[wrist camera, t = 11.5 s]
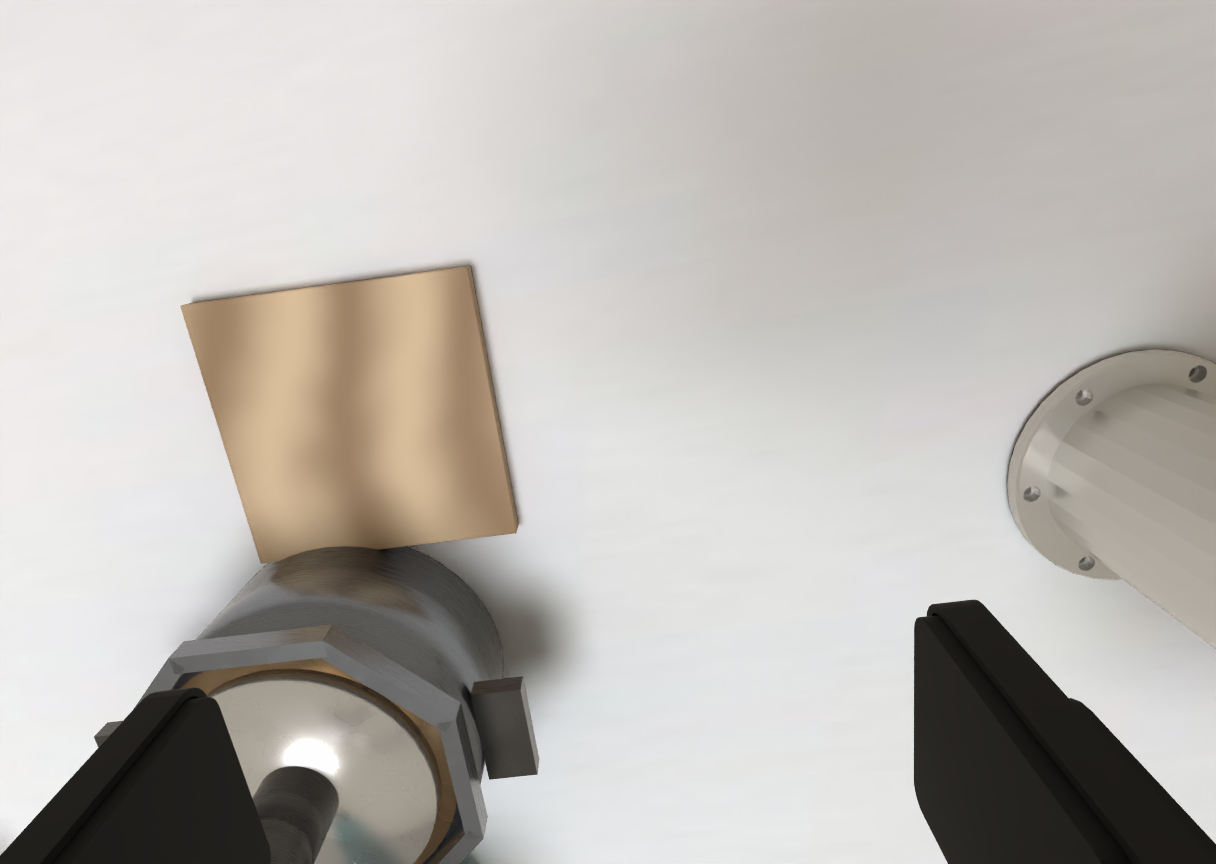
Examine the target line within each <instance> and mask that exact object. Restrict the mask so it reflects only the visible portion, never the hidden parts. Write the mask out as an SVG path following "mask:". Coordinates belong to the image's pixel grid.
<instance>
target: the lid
mask: <svg viewBox="0 0 1216 864" xmlns="http://www.w3.org/2000/svg"><path fill="white" fill-rule="evenodd" d="M206 695H207V697H211V698H214V699H215V700H216V701H217V703H218V704H219V706H220V709H221V712H222V715H223V718H224V720H225V723H226V726H227V729H228V732H229V734H230V737H231V740H232V743H233V746H234V748H235V751H236V754H237V757H238V759H239V762H240V765H241V768H242V771H243V773H244V776H245V779H246V782H247V785H248V787H249V790H250V793H251V796H252V799H253V801H254V804H255V807H256V810H257V813H258V815H259V818H260V821H261V824H262V827H263V829H264V832H265V835H266V838H267V841H268V843H269V846H270V851H271V863H270V864H413V863H414V862H415V861H416V860H417V858H418V857H419V856H420V855H421V853H422V852H423V850H424V848H425V847H426V845H427V843H428V841H429V839H430V836H431V834H432V831H433V828H434V824H435V821H436V817H437V814H438V809H439V804H440V800H441V780H440V772H439V768H438V765H437V761H436V758H435V755H434V753H433V751H432V749H431V747H430V744H429V743H428V741H427V739H426V738H425V736H424V735H423V733H422V732H421V730H420V729H419V728H418V727H417V725H416V724H415V723H414V722H413V721H412V720H411V718H410V717H409V716H408V715H407V714H405V713H404V712H403V711H402V710H401V709H400V708H399V707H398V706H397V705H395V704H394V703H392V702H391V701H390V700H388V699H387V698H386V697H384V696H383V695H381V694H379V693H377V692H376V691H374V690H372V689H370V688H369V687H367V686H365V685H362V684H360V683H358V682H355V681H353V680H350V679H348V678H344V677H341V676H338V675H335V674H331V673H326V672H321V671H316V670H307V669H295V668H291V669H272V670H265V671H258V672H254V673H250V674H247V675H243V676H240V677H237V678H235V679H232V680H230V681H228V682H225V683H223V684H222V685H220V686H218V687H217V688H215V689H213V690H211V691H210V692H209V693H208V694H206Z"/></svg>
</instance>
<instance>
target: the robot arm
mask: <svg viewBox="0 0 1216 864" xmlns="http://www.w3.org/2000/svg"><path fill="white" fill-rule="evenodd" d="M1007 487H1008V497H1009V506H1010V508H1011V511H1012V514H1013V517H1014V520H1015V523H1016V525H1017V526H1018V528H1019V530H1020V531H1021V533H1022V534H1023V536H1024V537H1025V539H1026V540H1027V541H1028V542H1029V543H1030V544H1031V545H1032V546H1033V547H1034V548H1035V549H1036V550H1037V551H1038V552H1039V553H1041V554H1042V555H1043V556H1044V557H1046V558H1047V559H1048V560H1050V561H1051V562H1052V563H1054V564H1055V565H1057V566H1059V567H1061V568H1063V569H1065V570H1067V571H1069V572H1071V573H1073V574H1077V575H1081V576H1085V577H1089V578H1093V579H1109V580H1119V579H1124V580H1125V581H1126V582H1128V583H1129V584H1130V585H1132V586H1133V587H1134V588H1136V589H1137V590H1138V591H1140V592H1141V593H1142V594H1144V595H1145V596H1146V597H1148V598H1149V599H1150V600H1152V601H1153V602H1154V603H1156V604H1157V605H1158V606H1159V607H1161V608H1162V609H1163V610H1165V611H1166V612H1167V613H1169V614H1170V615H1171V616H1173V617H1174V618H1175V619H1177V620H1178V621H1179V622H1181V623H1182V624H1183V625H1185V626H1186V627H1187V628H1189V629H1190V630H1191V631H1193V632H1194V633H1195V634H1197V635H1198V636H1199V637H1201V638H1202V639H1203V640H1205V641H1206V642H1207V643H1209V644H1210V645H1211V646H1213V647H1214V648H1215V649H1216V363H1214V362H1211V361H1209V360H1206V359H1204V358H1201V357H1198V356H1194V355H1191V354H1187V353H1183V352H1179V351H1170V350H1156V349H1152V350H1143V351H1134V352H1128V353H1124V354H1121V355H1117V356H1114V357H1111V358H1107V359H1104V360H1102V361H1100V362H1098V363H1096V364H1094V365H1092V366H1090V367H1088V368H1086V369H1083V370H1081V371H1080V372H1078V373H1077V374H1076V375H1074V376H1073V377H1071V378H1070V379H1068V380H1067V381H1065V382H1064V383H1063V384H1061V385H1060V386H1059V387H1058V388H1057V389H1056V390H1055V391H1054V392H1052V393H1051V394H1050V395H1049V396H1048V397H1047V398H1046V399H1045V400H1044V401H1043V402H1042V403H1041V404H1040V406H1039V407H1038V408H1037V410H1036V411H1035V412H1034V414H1033V415H1032V416H1031V418H1030V419H1029V420H1028V422H1027V423H1026V425H1025V427H1024V429H1023V431H1022V433H1021V435H1020V437H1019V439H1018V440H1017V442H1016V445H1015V448H1014V452H1013V455H1012V458H1011V461H1010V465H1009V474H1008V483H1007ZM914 786H915V792H916V796H917V800H918V803H919V806H920V809H921V811H922V813H923V815H924V817H925V819H926V821H927V823H928V825H929V827H930V829H931V831H932V833H933V835H934V837H935V839H936V841H937V843H938V845H939V847H940V849H941V851H942V853H943V855H944V857H945V859H946V861H947V862H948V864H1216V844H1215V843H1214V842H1213V841H1212V840H1211V839H1210V838H1209V836H1208V835H1207V834H1206V833H1205V832H1204V831H1203V830H1202V829H1201V828H1200V827H1199V826H1198V825H1197V824H1196V823H1195V821H1194V820H1193V819H1192V818H1191V817H1190V816H1189V815H1188V814H1187V813H1186V812H1185V811H1184V810H1183V809H1182V808H1181V806H1180V805H1179V804H1178V803H1177V802H1176V801H1175V800H1174V799H1173V798H1172V797H1171V796H1170V795H1169V794H1168V793H1167V791H1166V790H1165V789H1164V788H1163V787H1162V786H1161V785H1160V784H1159V783H1158V782H1157V781H1156V780H1155V779H1154V777H1153V776H1152V775H1151V774H1150V773H1149V772H1148V771H1147V770H1146V769H1145V768H1144V767H1143V766H1142V765H1141V764H1140V762H1139V761H1138V760H1137V759H1136V758H1135V757H1134V756H1133V755H1132V754H1131V753H1130V752H1129V751H1128V750H1127V749H1126V747H1125V746H1124V745H1123V744H1122V743H1121V742H1120V741H1119V740H1118V739H1117V738H1116V737H1115V736H1114V735H1113V734H1112V732H1111V731H1110V730H1109V729H1108V728H1107V727H1106V726H1105V725H1104V724H1103V723H1102V722H1101V721H1100V720H1099V719H1098V717H1097V716H1096V715H1095V714H1094V713H1093V712H1092V711H1091V710H1090V709H1089V708H1087V707H1086V706H1085V705H1084V704H1083V703H1082V702H1080V701H1077V700H1074V699H1072V698H1068V697H1067V696H1066V695H1065V694H1064V693H1063V692H1062V690H1061V689H1060V688H1059V687H1058V686H1057V685H1056V684H1055V683H1054V682H1053V681H1052V680H1051V678H1050V677H1049V676H1048V675H1047V674H1046V673H1045V672H1044V671H1043V670H1042V669H1041V667H1040V666H1039V665H1038V664H1037V663H1036V662H1035V661H1034V660H1033V659H1032V658H1031V656H1030V655H1029V654H1028V653H1027V652H1026V651H1025V650H1024V649H1023V648H1022V647H1021V645H1020V644H1019V643H1018V642H1017V641H1016V640H1015V639H1014V638H1013V637H1012V636H1011V634H1010V633H1009V632H1008V631H1007V630H1006V629H1005V628H1004V627H1003V626H1002V625H1001V624H1000V622H999V621H998V620H997V619H996V618H995V617H994V616H993V615H992V614H991V613H990V611H989V610H988V609H987V608H986V607H985V606H984V605H983V604H982V603H981V602H979V601H978V600H966V601H958V602H949V603H940V604H932V605H931V606H929V608H928V611H927V617H918V618H917V619H916V621H915V627H914ZM270 863H271V851H270V846H269V843H268V841H267V838H266V835H265V832H264V829H263V827H262V824H261V821H260V818H259V815H258V813H257V810H256V807H255V804H254V801H253V799H252V796H251V793H250V790H249V787H248V785H247V782H246V779H245V776H244V773H243V771H242V768H241V765H240V762H239V759H238V757H237V754H236V751H235V748H234V746H233V743H232V740H231V737H230V734H229V732H228V729H227V726H226V723H225V720H224V718H223V715H222V712H221V709H220V706H219V704H218V703H217V701H216V700H215V699H214V698H211V697H207V695H206V694H205V692H203V691H202V690H201V689H199V688H195V687H194V688H185V689H176V690H167V691H158V692H154V693H151V694H149V695H148V696H146V697H145V698H144V699H143V700H142V701H141V702H140V703H139V704H138V705H137V706H136V708H135V709H134V710H133V711H132V712H131V713H130V714H129V715H128V716H127V717H126V718H125V720H124V721H123V722H122V723H121V724H120V725H119V726H118V727H117V728H116V729H115V731H114V732H113V733H112V734H111V735H110V736H109V737H108V738H107V739H106V740H105V742H104V743H103V744H102V745H101V746H100V747H99V748H98V749H97V750H96V751H95V752H94V754H93V755H92V756H91V757H90V758H89V759H88V760H87V761H86V762H85V763H84V765H83V766H82V767H81V768H80V769H79V770H78V771H77V772H76V773H75V774H74V776H73V777H72V778H71V779H70V780H69V781H68V782H67V783H66V784H65V785H64V786H63V788H62V789H61V790H60V791H59V792H58V793H57V794H56V795H55V796H54V797H53V799H52V800H51V801H50V802H49V803H48V804H47V805H46V806H45V807H44V808H43V810H42V811H41V812H40V813H39V814H38V815H37V816H36V817H35V818H34V819H33V820H32V822H31V823H30V824H29V825H28V826H27V827H26V828H25V829H24V830H23V831H22V833H21V834H20V835H19V836H18V837H17V838H16V839H15V840H14V841H13V842H12V844H11V845H10V846H9V847H8V848H7V849H6V850H5V851H4V852H3V853H2V854H1V856H0V864H270Z"/></svg>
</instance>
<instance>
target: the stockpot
mask: <svg viewBox="0 0 1216 864" xmlns="http://www.w3.org/2000/svg"><path fill="white" fill-rule="evenodd" d="M291 668H295V669H307V670H316V671H321V672H326V673H331V674H335V675H338V676H341V677H344V678H348V679H350V680H353V681H355V682H358V683H360V684H362V685H365V686H367V687H369V688H370V689H372V690H374V691H376V692H377V693H379V694H381V695H383V696H384V697H386V698H387V699H388V700H390V701H391V702H392V703H394V704H395V705H397V706H398V707H399V708H400V709H401V710H402V711H403V712H404V713H405V714H407V715H408V716H409V717H410V718H411V720H412V721H413V722H414V723H415V724H416V725H417V727H418V728H419V729H420V730H421V732H422V733H423V735H424V736H425V738H426V739H427V741H428V743H429V744H430V747H431V749H432V751H433V753H434V755H435V758H436V761H437V765H438V768H439V772H440V780H441V800H440V804H439V809H438V814H437V817H436V821H435V824H434V828H433V831H432V834H431V836H430V839H429V841H428V843H427V845H426V847H425V848H424V850H423V852H422V853H421V855H420V856H419V857H418V858H417V860H416V861H415V862H414V863H413V864H460V863H461V862H462V861H463V860H464V859H465V858H466V857H467V856H468V855H469V854H470V852H471V851H472V850H473V849H474V848H475V847H476V846H477V845H478V844H479V843H480V842H481V841H482V839H483V838H484V833H485V827H486V822H487V813H486V808H485V804H484V800H483V795H482V791H481V787H480V784H481V779H482V774H483V770H484V765H485V763H486V767H487V772H488V776H489V779H499V778H508V777H517V776H527V775H536V774H537V773H538V765H539V756H538V751H537V746H536V741H535V736H534V731H533V725H532V720H531V715H530V710H529V705H528V700H527V695H526V690H525V685H524V680H523V676H522V677H513V678H504V679H503V655H502V648H501V643H500V640H499V636H498V633H497V630H496V628H495V625H494V623H493V621H492V619H491V616H490V615H489V613H488V611H487V610H486V608H485V607H484V605H483V603H482V602H481V600H480V599H479V598H478V597H477V596H476V594H475V593H474V592H473V591H472V590H471V588H470V587H469V586H468V585H467V584H465V583H464V582H463V581H462V580H461V579H460V578H459V577H458V576H457V575H456V574H454V573H453V572H452V571H450V570H449V569H447V568H446V567H445V566H443V565H442V564H440V563H439V562H437V561H435V560H433V559H432V558H430V557H428V556H426V555H424V554H422V553H419V552H417V551H415V550H412V549H410V548H408V547H395V548H387V549H372V548H366V547H352V546H338V547H324V548H319V549H313V550H308V551H304V552H301V553H298V554H295V555H292V556H289V557H287V558H285V559H283V560H281V561H277V562H270V563H268V564H267V565H266V566H265V567H264V568H263V569H261V570H260V571H259V572H258V573H257V574H256V575H255V576H254V577H253V578H252V579H251V580H250V581H249V582H248V583H247V584H246V586H245V587H244V588H243V589H242V590H241V591H240V592H239V593H238V594H237V595H236V597H235V598H234V599H233V600H232V601H231V602H230V603H229V604H228V605H227V606H226V607H225V609H224V610H223V611H222V612H221V613H220V614H219V615H218V616H217V617H216V618H215V619H214V621H213V622H212V623H211V624H210V625H209V626H208V627H207V628H206V629H205V630H204V632H203V633H202V634H201V635H200V636H199V637H198V638H197V639H196V640H194V641H185V642H183V643H182V644H181V645H180V647H179V648H178V649H177V650H176V651H175V652H174V653H173V654H172V655H171V656H170V657H169V658H168V660H167V661H166V663H165V664H164V665H163V667H162V668H161V670H160V671H159V673H158V674H157V676H156V677H155V679H154V680H153V682H152V683H151V685H150V686H149V687H148V689H147V690H146V692H145V693H144V695H143V696H142V698H141V699H140V701H139V702H138V704H139V703H140V702H141V701H142V700H143V699H144V698H145V697H146V696H148V695H149V694H151V693H154V692H158V691H167V690H176V689H185V688H194V687H195V688H199V689H201V690H202V691H203V692H205V694H208V693H209V692H210V691H211V690H213V689H215V688H217V687H218V686H220V685H222V684H223V683H225V682H228V681H230V680H232V679H235V678H237V677H240V676H243V675H247V674H250V673H254V672H258V671H265V670H272V669H291ZM138 704H137V705H138ZM137 705H136V706H137ZM135 708H136V707H135ZM135 708H134V709H135ZM134 709H133V710H134ZM122 722H123V721H118V722H109V723H107V724H106V725H105V726H104V727H103V728H102V729H101V730H100V731H99V732H98V733H97V734H96V735H95V736H94V738H95V741H96V743H97V745H98V747H100V746H101V745H102V744H103V743H104V742H105V740H106V739H107V738H108V737H109V736H110V735H111V734H112V733H113V732H114V731H115V729H116V728H117V727H118V726H119V725H120V724H121V723H122Z"/></svg>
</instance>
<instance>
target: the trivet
mask: <svg viewBox="0 0 1216 864" xmlns="http://www.w3.org/2000/svg"><path fill="white" fill-rule="evenodd" d="M180 307H181V310H182V313H183V316H184V319H185V322H186V326H187V329H188V332H189V335H190V338H191V342H192V345H193V348H194V351H195V354H196V358H197V361H198V364H199V367H200V370H201V374H202V377H203V380H204V383H205V386H206V390H207V393H208V396H209V399H210V402H211V405H212V409H213V412H214V415H215V418H216V421H217V425H218V428H219V431H220V434H221V437H222V441H223V444H224V447H225V450H226V453H227V457H228V460H229V463H230V466H231V469H232V473H233V476H234V479H235V482H236V485H237V489H238V492H239V495H240V498H241V501H242V504H243V508H244V511H245V514H246V517H247V520H248V524H249V527H250V530H251V533H252V536H253V540H254V543H255V546H256V549H257V552H258V556H259V559H260V562H261V563H269V562H277V561H281V560H283V559H285V558H287V557H289V556H292V555H295V554H298V553H301V552H304V551H308V550H313V549H319V548H324V547H338V546H352V547H366V548H372V549H387V548H395V547H404V546H412V545H420V544H429V543H437V542H446V541H454V540H462V539H471V538H479V537H488V536H496V535H504V534H513V533H516V532H517V528H518V520H517V515H516V509H515V504H514V498H513V493H512V488H511V482H510V477H509V471H508V466H507V461H506V455H505V450H504V444H503V439H502V434H501V428H500V423H499V417H498V412H497V407H496V401H495V396H494V390H493V385H492V380H491V374H490V369H489V363H488V358H487V353H486V347H485V342H484V336H483V331H482V326H481V320H480V315H479V309H478V304H477V299H476V293H475V288H474V282H473V277H472V272H471V266H464V267H457V268H449V269H442V270H434V271H427V272H419V273H412V274H404V275H397V276H389V277H382V278H374V279H367V280H359V281H352V282H344V283H337V284H329V285H322V286H314V287H307V288H299V289H292V290H284V291H277V292H269V293H262V294H255V295H247V296H240V297H232V298H225V299H217V300H210V301H202V302H195V303H189V304H186V305H182V306H180Z"/></svg>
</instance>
